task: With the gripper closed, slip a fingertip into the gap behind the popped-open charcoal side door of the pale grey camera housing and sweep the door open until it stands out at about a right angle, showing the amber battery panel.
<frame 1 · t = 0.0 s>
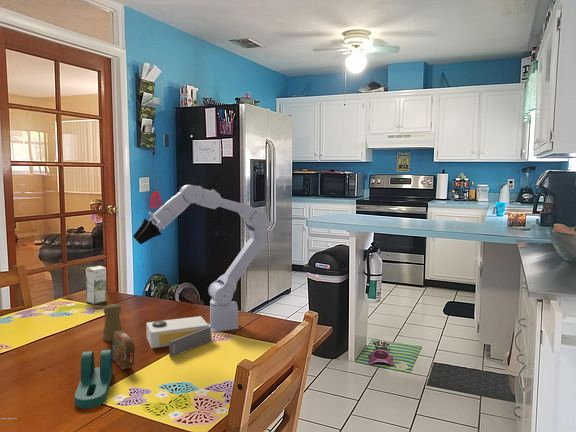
hand: (136, 240, 146), 32 cm above the table, tool tilted 50°, fingers open, 7 cm apart
camera housing: (177, 339, 149), on the table
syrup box: (96, 302, 189), on the table
bracket: (94, 391, 114), on the table
olive flared pepper mill: (113, 338, 149), on the table
brown rounded piece: (122, 364, 130), on the table
side door: (192, 341, 140), point 3 cm above the table, hinge at 30.0°
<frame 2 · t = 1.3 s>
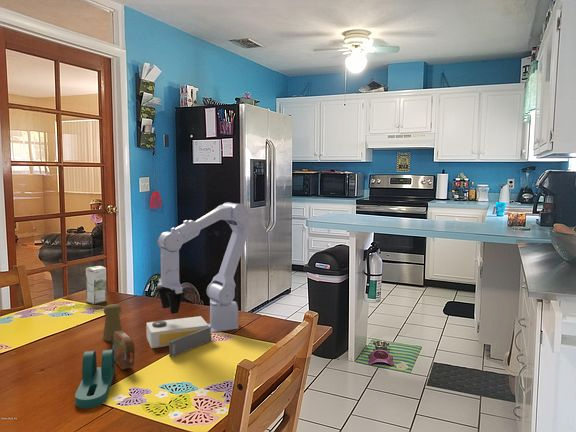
hand: (170, 310, 148), 9 cm above the table, tool pointing down, fingers open, 6 cm apart
nothing on the table moved.
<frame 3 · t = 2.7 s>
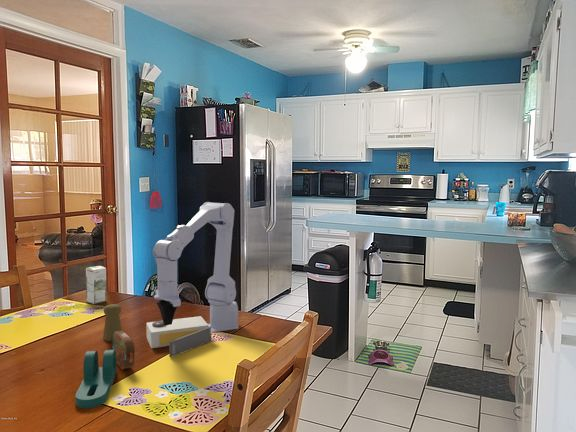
hand: (167, 324, 138), 8 cm above the table, tool pointing down, fingers closed
nothing on the table moved.
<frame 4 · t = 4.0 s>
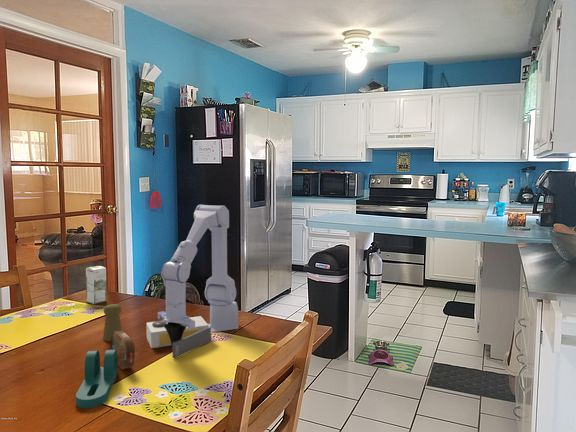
hand: (176, 346, 136), 2 cm above the table, tool pointing down, fingers closed
side door: (193, 341, 140), point 3 cm above the table, hinge at 34.9°, touching gripper
everything else where it was.
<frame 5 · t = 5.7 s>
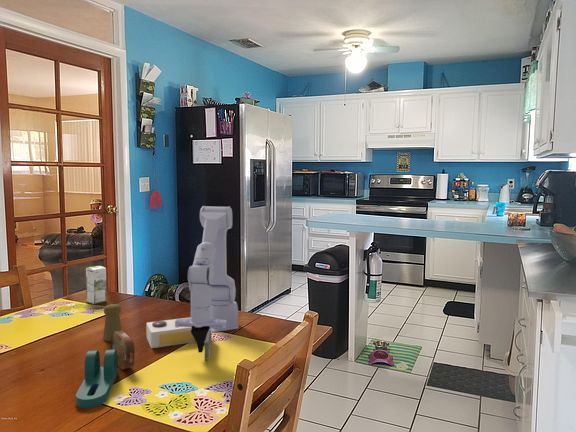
hand: (200, 351, 133), 2 cm above the table, tool pointing down, fingers closed
side door: (208, 342, 139), point 3 cm above the table, hinge at 70.9°, touching gripper
everything else where it was.
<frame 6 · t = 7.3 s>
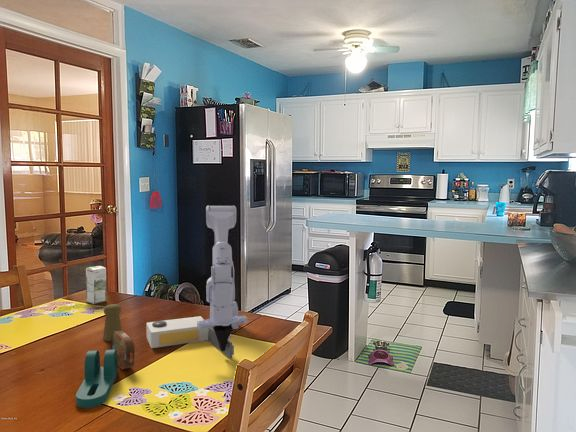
hand: (222, 349, 134), 2 cm above the table, tool pointing down, fingers closed
side door: (220, 341, 140), point 3 cm above the table, hinge at 97.0°, touching gripper
everything else where it was.
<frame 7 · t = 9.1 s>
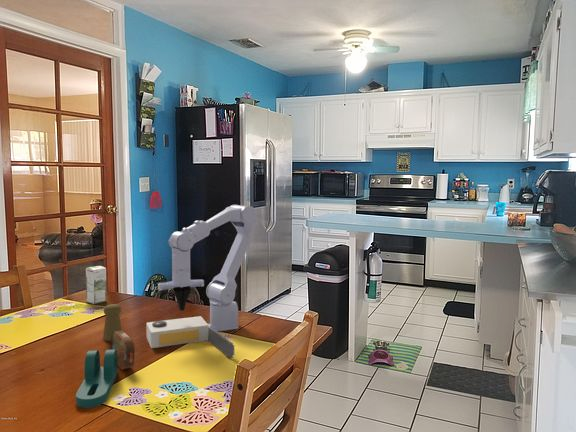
hand: (181, 309, 149), 9 cm above the table, tool pointing down, fingers closed
side door: (220, 341, 140), point 3 cm above the table, hinge at 97.4°
everything else where it was.
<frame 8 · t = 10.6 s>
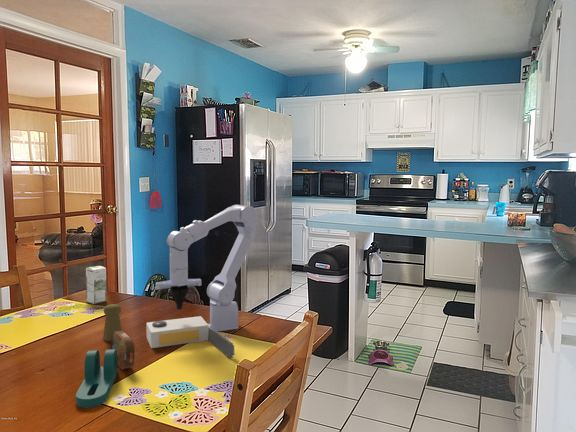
hand: (179, 308, 150), 9 cm above the table, tool pointing down, fingers closed
nothing on the table moved.
at the end: side door at +97° (first picture: +30°) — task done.
